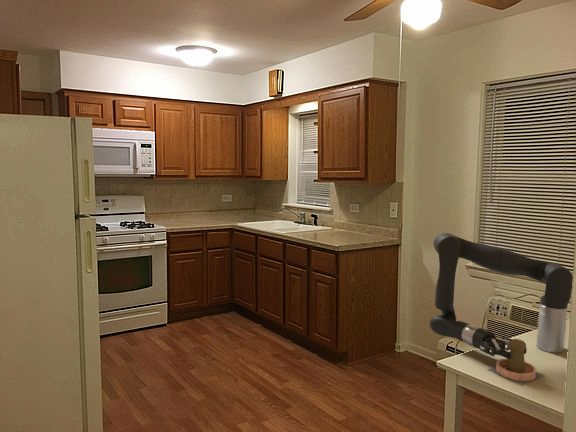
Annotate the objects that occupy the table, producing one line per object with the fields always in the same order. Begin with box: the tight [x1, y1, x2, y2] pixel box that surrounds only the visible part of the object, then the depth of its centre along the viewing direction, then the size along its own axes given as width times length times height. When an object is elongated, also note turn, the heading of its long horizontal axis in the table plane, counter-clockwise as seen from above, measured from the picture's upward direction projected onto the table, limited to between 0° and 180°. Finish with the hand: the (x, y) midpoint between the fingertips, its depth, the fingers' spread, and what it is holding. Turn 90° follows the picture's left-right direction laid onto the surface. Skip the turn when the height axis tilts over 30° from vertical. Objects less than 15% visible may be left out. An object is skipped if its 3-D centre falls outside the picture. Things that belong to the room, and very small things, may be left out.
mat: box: [486, 366, 546, 386], centre depth 164 cm, size 13×13×1 cm
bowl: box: [495, 358, 537, 382], centre depth 164 cm, size 12×12×2 cm
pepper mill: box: [506, 338, 527, 373], centre depth 163 cm, size 6×6×11 cm
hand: (518, 353), depth 163 cm, fingers open, 8 cm apart
